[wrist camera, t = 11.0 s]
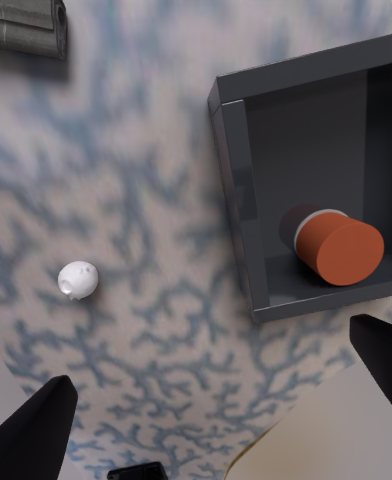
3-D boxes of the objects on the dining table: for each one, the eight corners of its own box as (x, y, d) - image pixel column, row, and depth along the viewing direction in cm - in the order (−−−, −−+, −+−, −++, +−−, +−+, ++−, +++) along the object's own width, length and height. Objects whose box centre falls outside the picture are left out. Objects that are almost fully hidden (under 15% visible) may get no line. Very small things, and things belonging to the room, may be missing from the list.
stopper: (352, 259, 19) (382, 278, 16) (297, 271, 19) (317, 292, 16) (353, 206, 17) (386, 216, 14) (293, 219, 17) (315, 232, 14)
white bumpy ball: (98, 290, 20) (84, 311, 17) (63, 279, 19) (43, 299, 17) (108, 260, 19) (95, 277, 16) (71, 247, 18) (52, 263, 16)
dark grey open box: (395, 256, 20) (452, 283, 16) (240, 289, 20) (255, 324, 16) (414, 48, 15) (504, 6, 11) (207, 97, 15) (216, 75, 11)
